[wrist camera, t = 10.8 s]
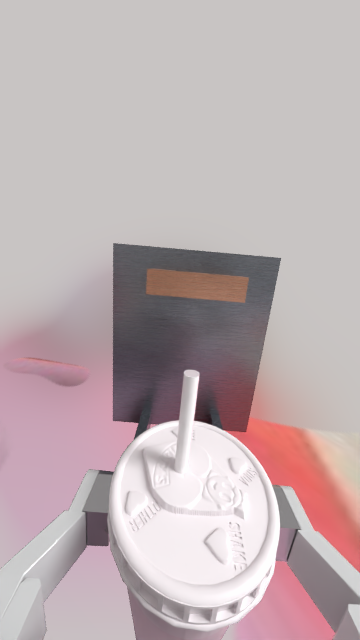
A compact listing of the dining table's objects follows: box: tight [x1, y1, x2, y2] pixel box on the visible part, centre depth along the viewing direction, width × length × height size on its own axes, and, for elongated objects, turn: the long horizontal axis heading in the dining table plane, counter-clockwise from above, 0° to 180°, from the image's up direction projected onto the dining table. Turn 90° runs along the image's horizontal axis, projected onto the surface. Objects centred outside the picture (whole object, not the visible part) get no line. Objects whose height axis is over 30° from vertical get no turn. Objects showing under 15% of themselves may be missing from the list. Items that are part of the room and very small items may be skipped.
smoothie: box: [107, 370, 280, 640], centre depth 9 cm, size 6×6×14 cm
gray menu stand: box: [113, 243, 281, 439], centre depth 19 cm, size 16×8×20 cm, turn 89°
